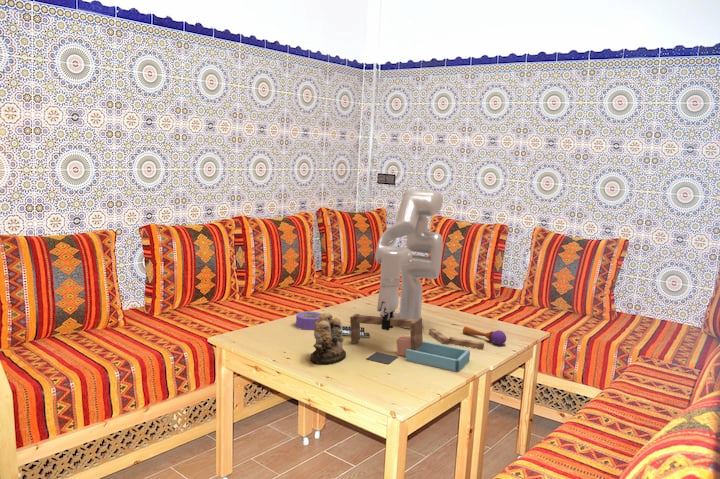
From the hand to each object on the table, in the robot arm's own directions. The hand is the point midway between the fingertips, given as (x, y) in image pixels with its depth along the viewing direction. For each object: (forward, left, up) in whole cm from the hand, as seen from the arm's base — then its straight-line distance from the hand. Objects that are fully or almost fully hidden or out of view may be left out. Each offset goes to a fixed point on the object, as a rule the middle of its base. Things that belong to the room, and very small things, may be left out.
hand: (387, 328), depth 223 cm
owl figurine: (-14, -21, -9) cm, 27 cm away
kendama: (+29, +35, -9) cm, 47 cm away
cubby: (+21, 0, -8) cm, 23 cm away
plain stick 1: (+13, +25, -9) cm, 29 cm away
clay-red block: (+9, 0, -8) cm, 12 cm away
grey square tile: (+3, -10, -8) cm, 14 cm away
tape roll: (-40, +8, -9) cm, 42 cm away
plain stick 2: (+25, +23, -9) cm, 35 cm away
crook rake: (0, 0, -7) cm, 7 cm away
